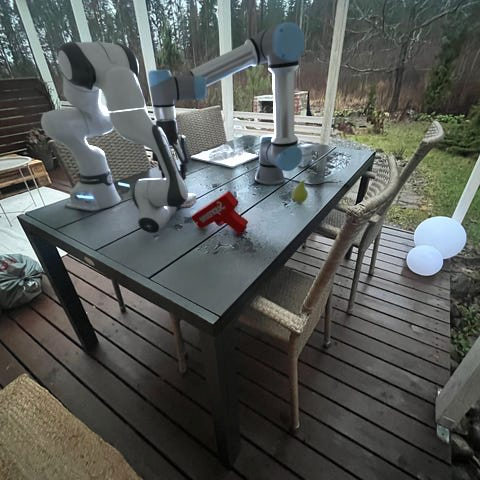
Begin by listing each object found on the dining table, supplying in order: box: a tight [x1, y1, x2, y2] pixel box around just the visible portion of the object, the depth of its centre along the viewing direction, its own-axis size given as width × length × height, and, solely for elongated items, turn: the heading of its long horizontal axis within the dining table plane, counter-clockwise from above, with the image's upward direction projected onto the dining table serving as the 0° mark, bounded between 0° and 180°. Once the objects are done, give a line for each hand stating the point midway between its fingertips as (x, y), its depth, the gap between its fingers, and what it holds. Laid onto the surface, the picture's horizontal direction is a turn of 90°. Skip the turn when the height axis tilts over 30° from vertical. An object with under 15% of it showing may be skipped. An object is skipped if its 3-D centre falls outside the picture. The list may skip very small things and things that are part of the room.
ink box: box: [297, 143, 314, 168], centre depth 163 cm, size 8×5×12 cm, turn 135°
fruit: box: [291, 174, 311, 204], centre depth 118 cm, size 7×8×12 cm
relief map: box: [190, 143, 259, 169], centre depth 179 cm, size 27×35×5 cm
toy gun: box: [190, 190, 249, 236], centre depth 99 cm, size 18×4×15 cm
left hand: (176, 191), depth 116 cm, fingers closed on jar, 5 cm apart
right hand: (174, 178), depth 112 cm, fingers open, 8 cm apart
